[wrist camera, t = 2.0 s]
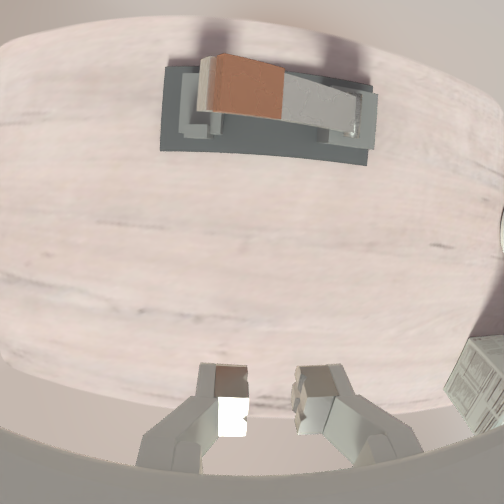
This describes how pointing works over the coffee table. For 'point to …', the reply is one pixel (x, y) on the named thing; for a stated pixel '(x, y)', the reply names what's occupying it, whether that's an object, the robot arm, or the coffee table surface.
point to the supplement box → (479, 383)
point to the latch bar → (274, 95)
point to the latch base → (259, 125)
